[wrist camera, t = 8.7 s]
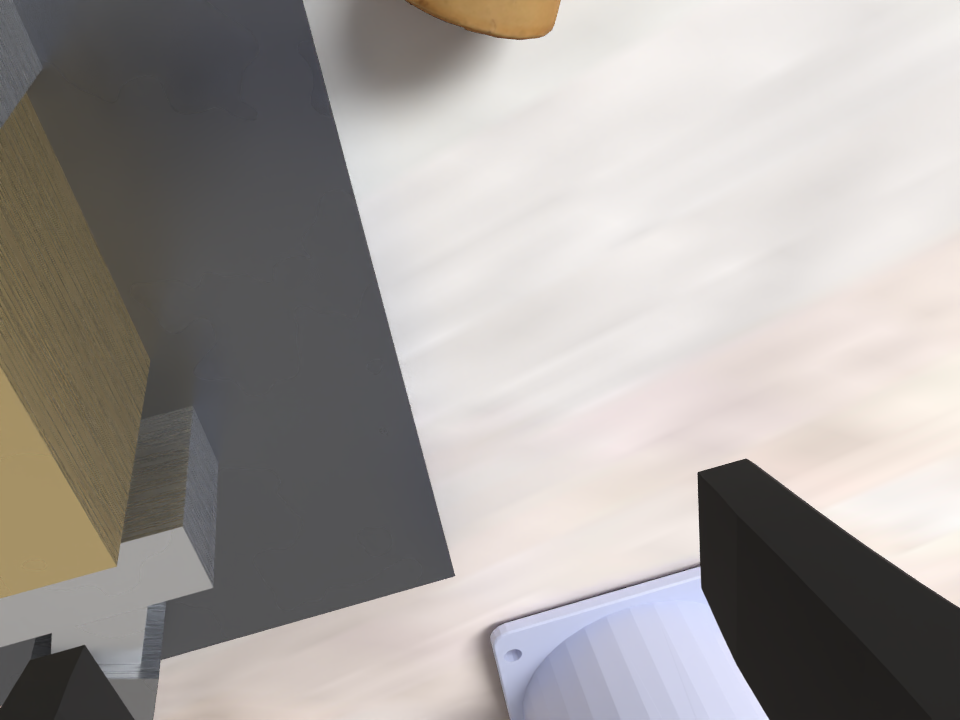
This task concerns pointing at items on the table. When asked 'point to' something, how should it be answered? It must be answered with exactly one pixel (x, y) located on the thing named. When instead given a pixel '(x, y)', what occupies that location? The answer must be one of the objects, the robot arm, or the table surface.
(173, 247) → the shaft base
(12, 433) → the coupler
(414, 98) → the table surface
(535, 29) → the kendama
